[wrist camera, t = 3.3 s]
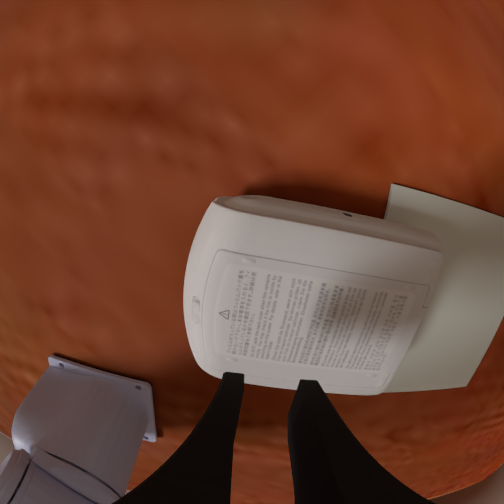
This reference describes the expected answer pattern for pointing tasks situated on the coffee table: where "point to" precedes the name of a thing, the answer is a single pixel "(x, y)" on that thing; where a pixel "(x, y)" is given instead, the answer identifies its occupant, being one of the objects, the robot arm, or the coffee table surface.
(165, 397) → the coffee table surface
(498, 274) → the mat
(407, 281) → the photo printer
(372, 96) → the coffee table surface
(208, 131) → the coffee table surface
